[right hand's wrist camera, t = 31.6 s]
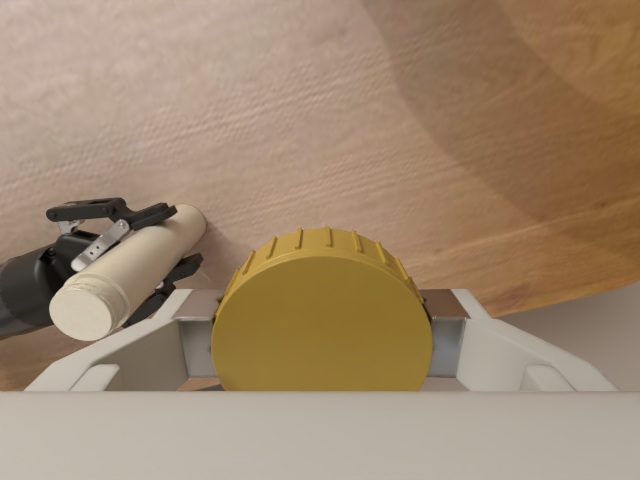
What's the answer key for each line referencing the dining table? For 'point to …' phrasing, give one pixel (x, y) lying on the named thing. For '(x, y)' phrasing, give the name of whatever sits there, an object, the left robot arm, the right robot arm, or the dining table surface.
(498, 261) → the dining table surface
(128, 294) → the bottle
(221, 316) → the lid
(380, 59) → the dining table surface
